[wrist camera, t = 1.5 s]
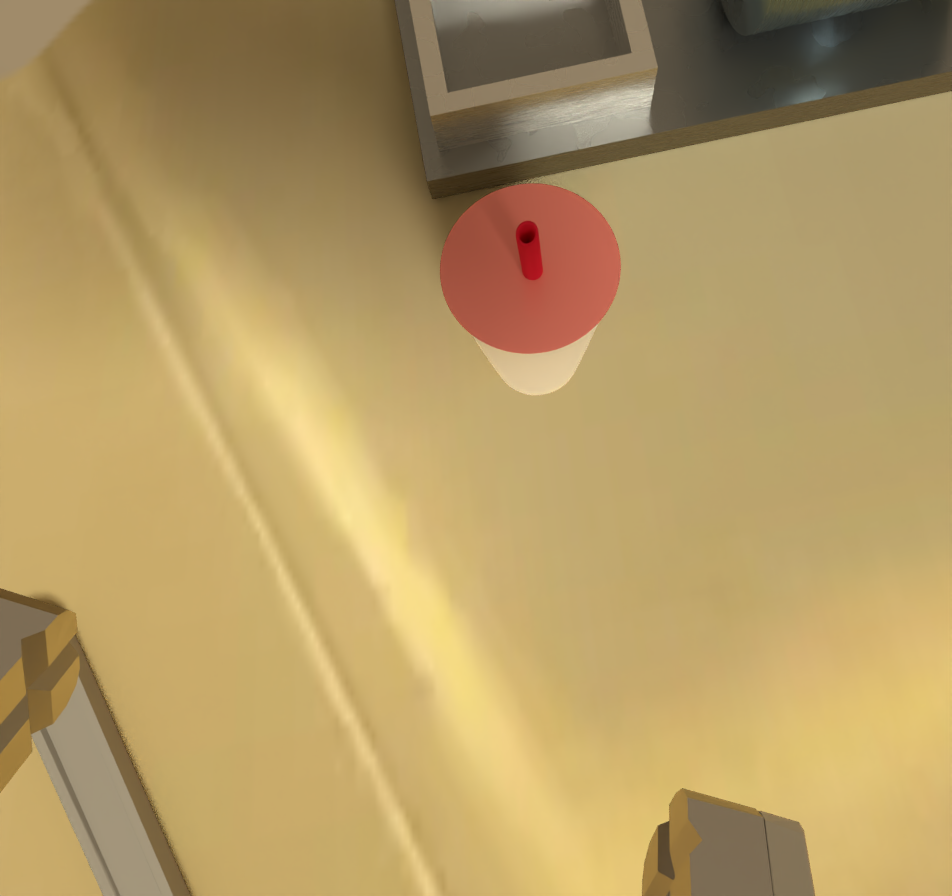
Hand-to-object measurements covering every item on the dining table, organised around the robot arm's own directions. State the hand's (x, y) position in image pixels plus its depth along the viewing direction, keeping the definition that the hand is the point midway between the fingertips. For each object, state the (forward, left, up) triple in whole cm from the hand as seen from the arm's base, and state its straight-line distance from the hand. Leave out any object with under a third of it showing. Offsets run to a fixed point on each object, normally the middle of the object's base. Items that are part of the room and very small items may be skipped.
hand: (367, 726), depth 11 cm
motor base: (-12, -24, -21) cm, 34 cm away
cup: (-4, -11, -22) cm, 25 cm away
